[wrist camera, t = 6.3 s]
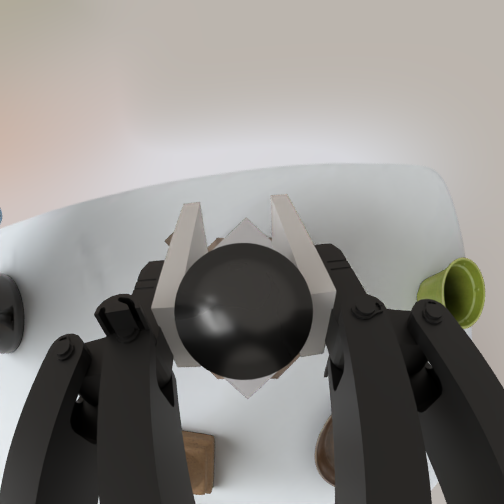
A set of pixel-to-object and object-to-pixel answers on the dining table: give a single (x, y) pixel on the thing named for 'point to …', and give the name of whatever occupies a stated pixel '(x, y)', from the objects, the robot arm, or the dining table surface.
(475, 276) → the plant pot
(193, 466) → the candle holder
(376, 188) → the dining table surface
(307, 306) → the plunger
